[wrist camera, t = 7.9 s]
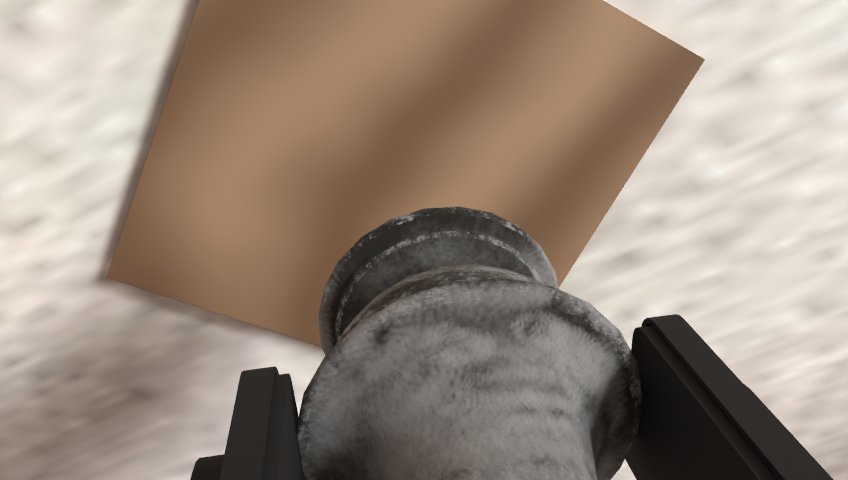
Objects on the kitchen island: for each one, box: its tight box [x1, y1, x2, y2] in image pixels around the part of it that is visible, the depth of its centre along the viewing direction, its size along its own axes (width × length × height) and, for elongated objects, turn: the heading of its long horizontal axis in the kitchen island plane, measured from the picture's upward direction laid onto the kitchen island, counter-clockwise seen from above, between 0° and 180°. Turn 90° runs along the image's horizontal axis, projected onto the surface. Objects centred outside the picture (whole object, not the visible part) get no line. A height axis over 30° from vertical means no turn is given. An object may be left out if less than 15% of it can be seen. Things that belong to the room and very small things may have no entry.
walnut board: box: [107, 0, 705, 346], centre depth 23 cm, size 16×16×1 cm
